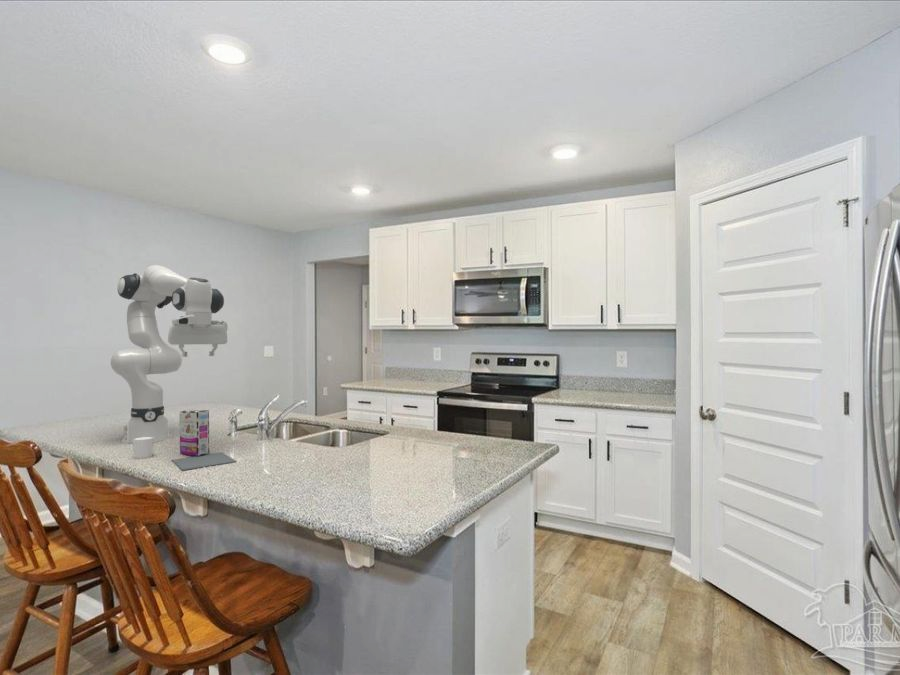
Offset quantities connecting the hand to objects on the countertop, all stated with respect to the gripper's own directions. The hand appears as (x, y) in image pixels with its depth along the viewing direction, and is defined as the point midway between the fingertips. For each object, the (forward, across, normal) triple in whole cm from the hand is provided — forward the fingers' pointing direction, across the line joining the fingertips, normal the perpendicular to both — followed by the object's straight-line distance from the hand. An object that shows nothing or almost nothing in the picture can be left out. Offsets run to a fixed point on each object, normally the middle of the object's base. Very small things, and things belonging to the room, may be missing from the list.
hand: (198, 356), depth 187 cm
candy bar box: (+36, +2, +6) cm, 37 cm away
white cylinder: (+37, +17, -3) cm, 41 cm away
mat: (+36, +2, +18) cm, 41 cm away
